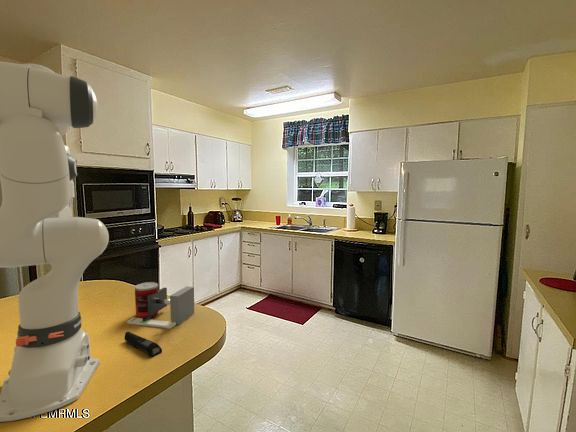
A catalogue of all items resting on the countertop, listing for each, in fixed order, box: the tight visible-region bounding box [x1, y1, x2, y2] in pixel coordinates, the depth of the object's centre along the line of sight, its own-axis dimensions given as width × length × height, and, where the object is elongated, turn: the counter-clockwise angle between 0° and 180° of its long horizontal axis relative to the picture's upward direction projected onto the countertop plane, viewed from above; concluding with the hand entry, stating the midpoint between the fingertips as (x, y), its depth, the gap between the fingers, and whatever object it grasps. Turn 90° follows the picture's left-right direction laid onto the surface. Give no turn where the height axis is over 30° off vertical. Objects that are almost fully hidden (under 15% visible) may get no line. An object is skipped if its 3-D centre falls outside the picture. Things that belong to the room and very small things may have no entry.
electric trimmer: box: [124, 331, 163, 358], centre depth 85 cm, size 4×16×3 cm, turn 57°
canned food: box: [134, 281, 159, 318], centre depth 107 cm, size 8×8×11 cm
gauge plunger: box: [143, 287, 170, 321], centre depth 104 cm, size 7×12×8 cm, turn 167°
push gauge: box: [126, 286, 195, 329], centre depth 104 cm, size 18×13×10 cm
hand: (61, 233), depth 100 cm, fingers closed
